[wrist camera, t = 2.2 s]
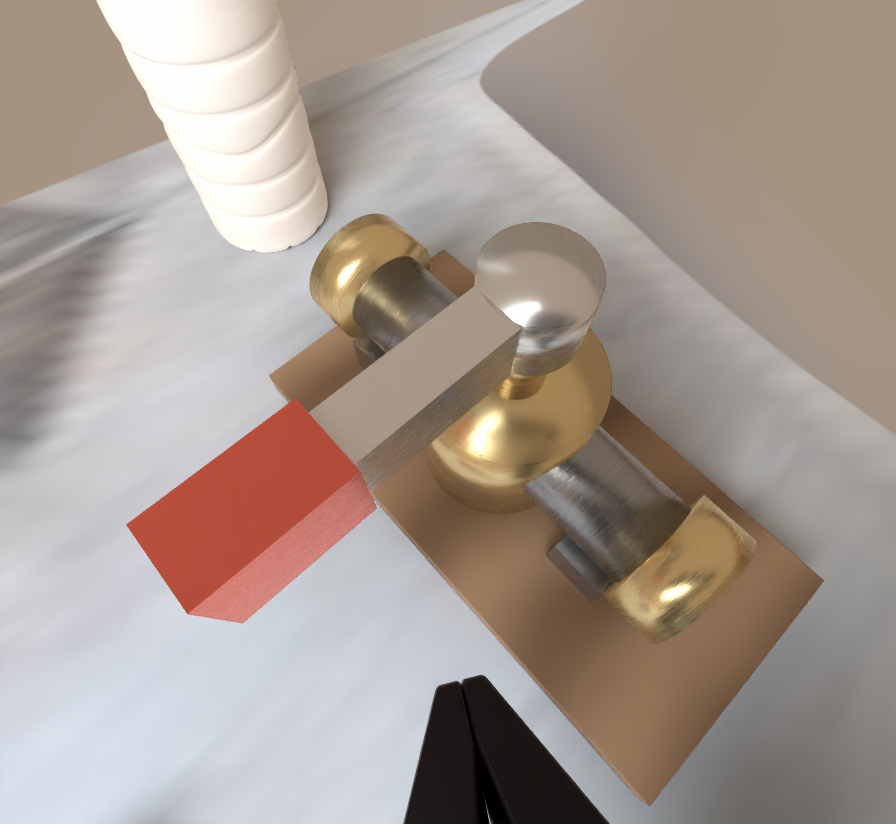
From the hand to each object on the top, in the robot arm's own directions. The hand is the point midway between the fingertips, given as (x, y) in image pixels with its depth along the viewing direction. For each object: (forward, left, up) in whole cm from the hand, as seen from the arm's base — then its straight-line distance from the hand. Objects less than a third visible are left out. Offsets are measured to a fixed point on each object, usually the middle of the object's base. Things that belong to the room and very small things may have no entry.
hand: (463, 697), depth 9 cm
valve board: (+4, -8, -14) cm, 16 cm away
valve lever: (+5, -3, -3) cm, 7 cm away
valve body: (+5, -8, -12) cm, 15 cm away
